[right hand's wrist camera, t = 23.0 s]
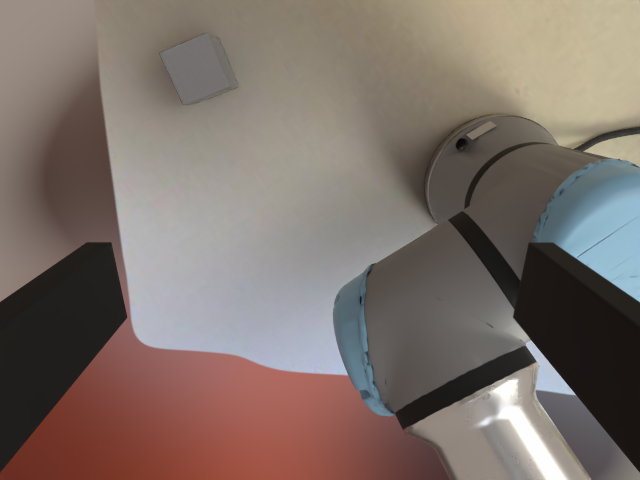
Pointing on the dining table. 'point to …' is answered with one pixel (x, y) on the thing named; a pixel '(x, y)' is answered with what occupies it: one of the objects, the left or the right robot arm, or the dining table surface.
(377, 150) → the dining table surface
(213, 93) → the grey block
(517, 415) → the right robot arm
